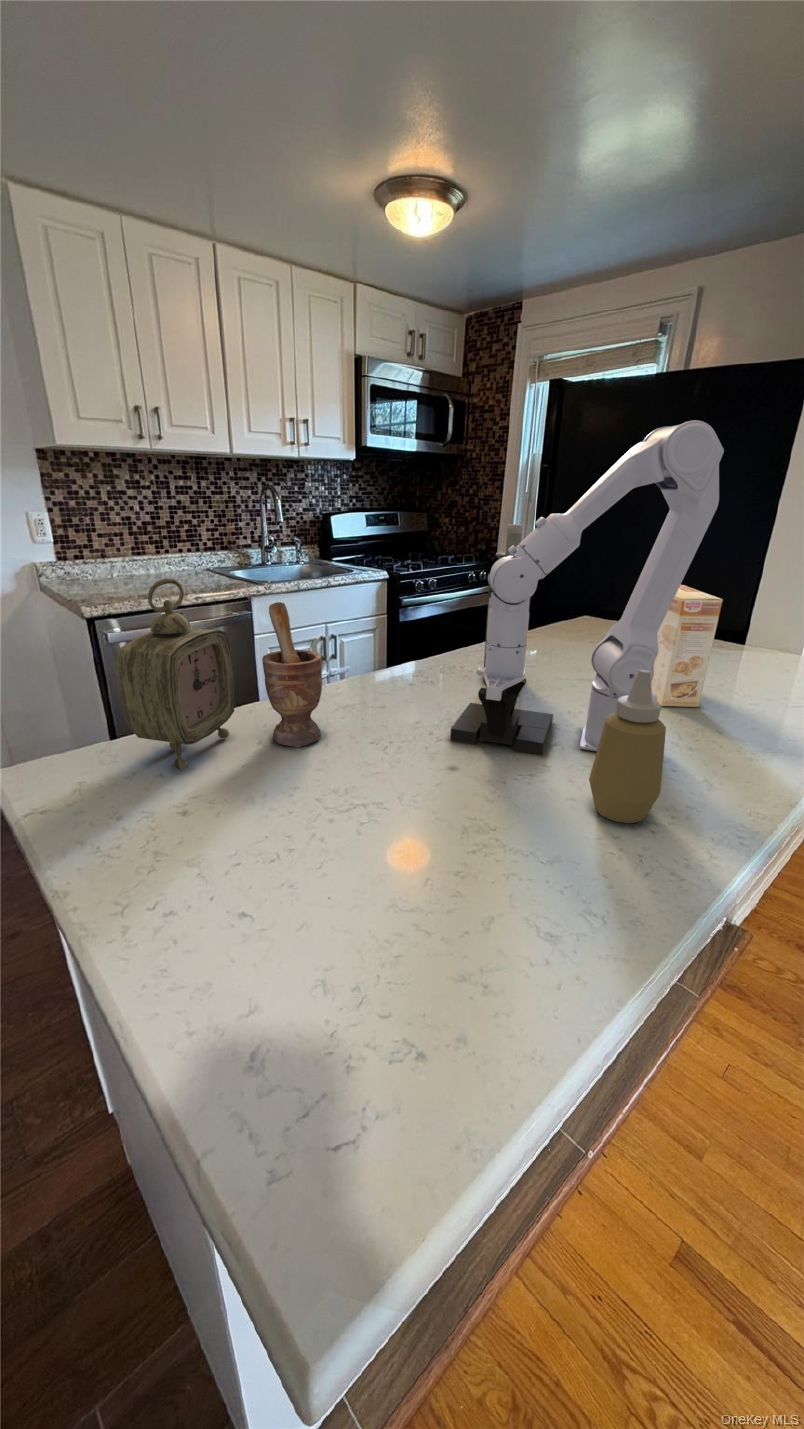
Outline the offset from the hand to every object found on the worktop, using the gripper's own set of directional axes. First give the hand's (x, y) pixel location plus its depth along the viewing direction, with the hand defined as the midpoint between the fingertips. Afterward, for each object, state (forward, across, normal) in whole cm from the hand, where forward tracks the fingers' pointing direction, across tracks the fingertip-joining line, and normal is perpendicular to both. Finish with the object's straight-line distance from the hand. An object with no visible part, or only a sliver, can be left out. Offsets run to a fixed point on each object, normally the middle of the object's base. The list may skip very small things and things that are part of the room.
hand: (499, 728), depth 87 cm
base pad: (+2, -3, 0) cm, 4 cm away
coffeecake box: (+2, -33, +25) cm, 42 cm away
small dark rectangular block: (+1, 0, 0) cm, 1 cm away
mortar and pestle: (+2, +10, -31) cm, 33 cm away
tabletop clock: (+2, +21, -42) cm, 47 cm away
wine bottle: (+2, -28, -5) cm, 29 cm away
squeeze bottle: (+2, +15, +18) cm, 23 cm away
